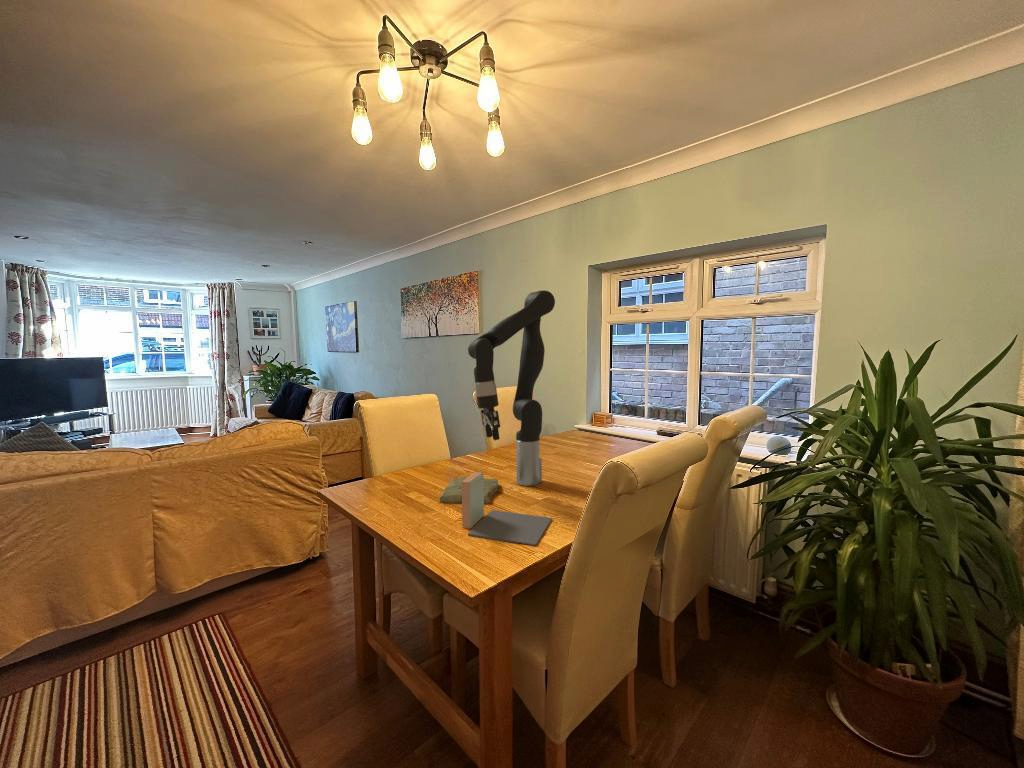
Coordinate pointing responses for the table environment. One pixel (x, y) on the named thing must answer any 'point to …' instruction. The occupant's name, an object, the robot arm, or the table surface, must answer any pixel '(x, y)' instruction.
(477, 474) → the glazed tile
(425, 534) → the table surface
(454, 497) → the olive green flat block
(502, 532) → the charcoal mat
